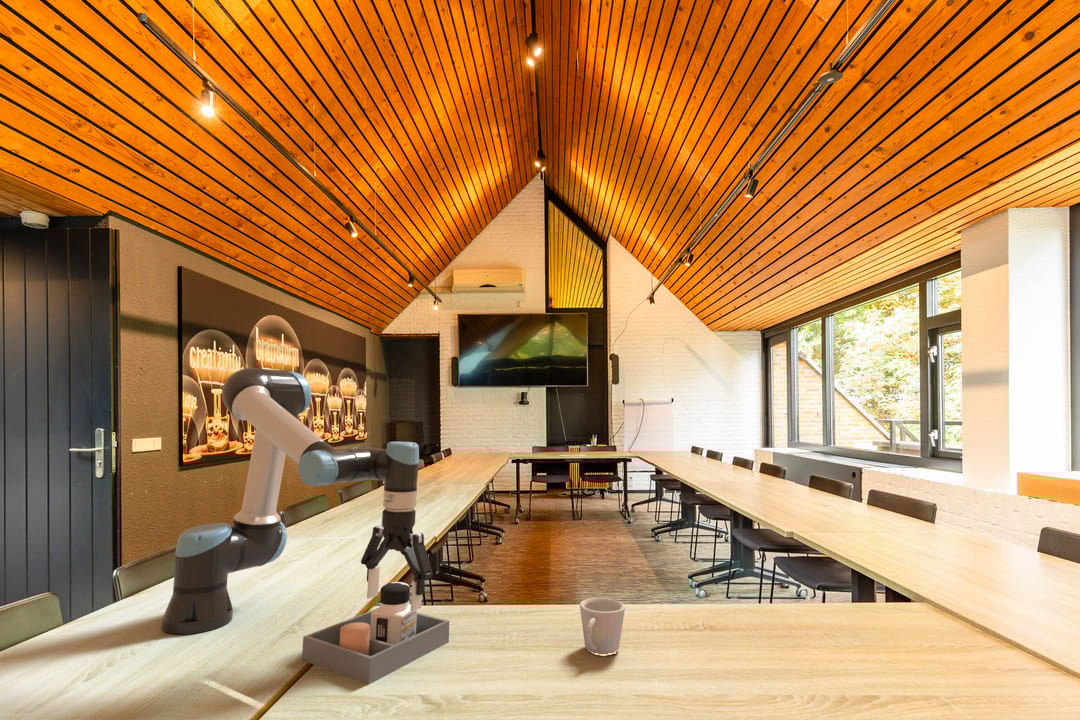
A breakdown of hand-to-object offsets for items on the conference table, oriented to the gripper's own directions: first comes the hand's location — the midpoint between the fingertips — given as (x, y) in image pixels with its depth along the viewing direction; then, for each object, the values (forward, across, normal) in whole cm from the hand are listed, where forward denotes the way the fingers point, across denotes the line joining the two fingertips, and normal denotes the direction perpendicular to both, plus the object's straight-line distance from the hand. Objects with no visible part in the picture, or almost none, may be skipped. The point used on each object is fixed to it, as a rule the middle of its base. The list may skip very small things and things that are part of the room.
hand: (393, 602), depth 129 cm
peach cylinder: (+9, +1, -12) cm, 15 cm away
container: (+9, +1, 0) cm, 9 cm away
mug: (+9, +42, +22) cm, 48 cm away
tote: (+10, +1, -5) cm, 11 cm away
